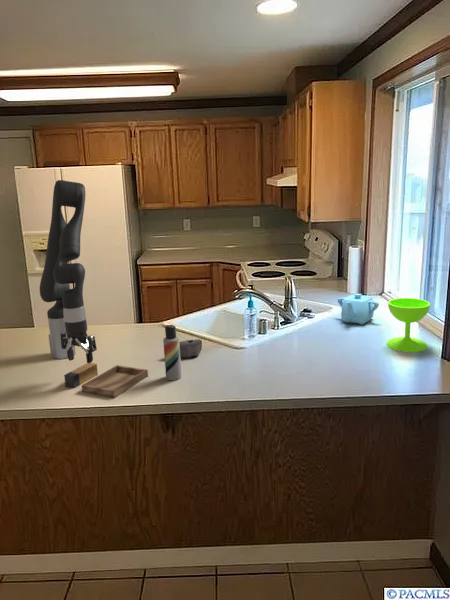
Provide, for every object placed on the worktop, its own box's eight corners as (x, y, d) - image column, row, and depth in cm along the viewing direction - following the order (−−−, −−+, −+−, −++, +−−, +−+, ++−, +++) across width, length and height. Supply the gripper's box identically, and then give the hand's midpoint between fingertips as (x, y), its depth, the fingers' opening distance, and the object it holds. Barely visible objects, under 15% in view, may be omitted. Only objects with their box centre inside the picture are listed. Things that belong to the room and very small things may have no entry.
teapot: (335, 317, 252) (335, 291, 249) (368, 315, 253) (369, 289, 250) (346, 328, 235) (346, 300, 231) (381, 326, 235) (382, 298, 232)
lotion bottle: (166, 375, 190) (162, 323, 185) (181, 374, 190) (178, 322, 185) (165, 381, 184) (161, 328, 179) (181, 380, 185) (178, 327, 180)
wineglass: (384, 338, 219) (386, 297, 214) (424, 339, 215) (426, 298, 211) (388, 351, 204) (390, 307, 199) (431, 352, 200) (433, 308, 196)
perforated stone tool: (166, 361, 204) (164, 344, 203) (166, 356, 210) (164, 340, 208) (203, 358, 206) (202, 341, 204) (202, 353, 211) (201, 337, 209)
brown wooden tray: (82, 391, 178) (81, 385, 178) (117, 371, 196) (116, 365, 195) (114, 397, 172) (114, 391, 172) (148, 376, 190) (147, 369, 189)
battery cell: (65, 386, 184) (64, 375, 182) (90, 372, 196) (89, 361, 194) (74, 388, 182) (72, 376, 181) (99, 374, 194) (97, 363, 193)
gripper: (97, 317, 183) (102, 359, 187) (67, 314, 189) (72, 355, 193) (83, 323, 176) (89, 367, 180) (52, 319, 182) (58, 362, 186)
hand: (80, 361), depth 187 cm, fingers open, 8 cm apart
